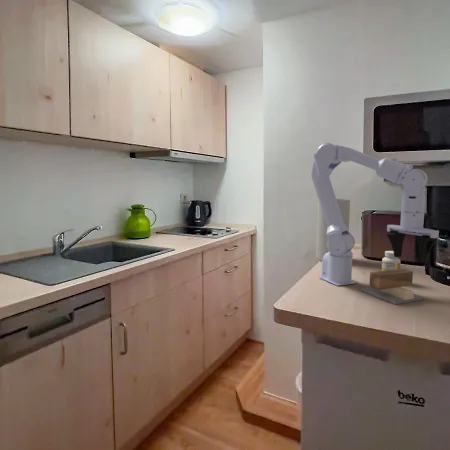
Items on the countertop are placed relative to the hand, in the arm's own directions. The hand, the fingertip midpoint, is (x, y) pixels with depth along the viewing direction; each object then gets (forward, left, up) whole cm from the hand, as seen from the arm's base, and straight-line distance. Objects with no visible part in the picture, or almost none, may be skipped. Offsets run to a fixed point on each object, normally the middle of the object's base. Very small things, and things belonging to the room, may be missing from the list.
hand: (409, 259), depth 96 cm
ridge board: (0, -6, -10) cm, 12 cm away
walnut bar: (0, -6, -7) cm, 10 cm away
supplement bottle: (-11, +5, -10) cm, 16 cm away
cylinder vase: (-43, +7, -10) cm, 45 cm away
